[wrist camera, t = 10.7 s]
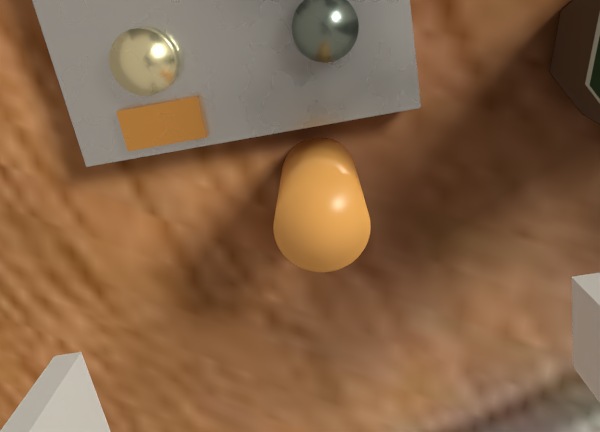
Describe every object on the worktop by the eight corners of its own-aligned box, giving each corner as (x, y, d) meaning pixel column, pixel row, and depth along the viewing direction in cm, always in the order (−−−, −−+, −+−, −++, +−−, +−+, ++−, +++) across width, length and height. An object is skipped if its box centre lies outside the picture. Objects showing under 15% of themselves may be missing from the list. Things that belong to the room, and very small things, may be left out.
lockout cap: (275, 144, 30) (264, 191, 23) (349, 131, 30) (363, 174, 22) (289, 213, 32) (283, 279, 24) (360, 201, 31) (376, 264, 24)
